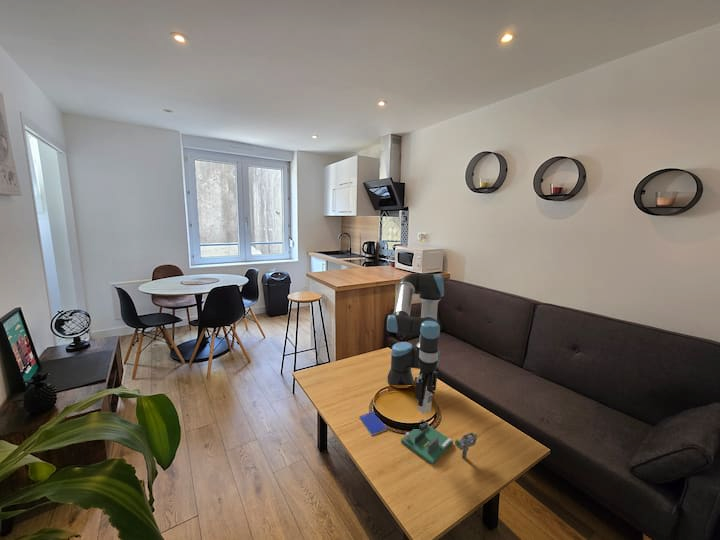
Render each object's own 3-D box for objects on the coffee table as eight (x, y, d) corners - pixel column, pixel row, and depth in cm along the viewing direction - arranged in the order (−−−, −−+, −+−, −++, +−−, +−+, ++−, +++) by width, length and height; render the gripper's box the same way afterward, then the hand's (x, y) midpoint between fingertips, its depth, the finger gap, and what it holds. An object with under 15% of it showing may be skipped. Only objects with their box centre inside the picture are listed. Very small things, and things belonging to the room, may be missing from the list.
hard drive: (359, 416, 147) (371, 433, 136) (374, 411, 151) (386, 427, 140) (359, 418, 148) (371, 436, 137) (374, 413, 151) (386, 430, 140)
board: (422, 424, 144) (422, 416, 143) (452, 443, 133) (453, 435, 131) (401, 442, 133) (401, 433, 132) (432, 465, 122) (432, 456, 121)
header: (424, 435, 135) (424, 427, 134) (438, 444, 130) (439, 437, 129) (414, 443, 131) (415, 435, 130) (429, 453, 125) (429, 445, 124)
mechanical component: (451, 458, 125) (454, 438, 123) (471, 451, 129) (473, 431, 126) (456, 464, 122) (459, 444, 120) (476, 456, 126) (478, 436, 124)
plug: (423, 405, 131) (424, 388, 129) (432, 410, 128) (433, 393, 126) (417, 409, 128) (418, 391, 127) (426, 414, 125) (427, 397, 123)
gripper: (432, 349, 132) (428, 396, 137) (407, 362, 120) (404, 413, 125) (447, 355, 126) (443, 404, 131) (423, 369, 115) (419, 423, 120)
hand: (424, 408), depth 128 cm, fingers closed on plug, 4 cm apart
